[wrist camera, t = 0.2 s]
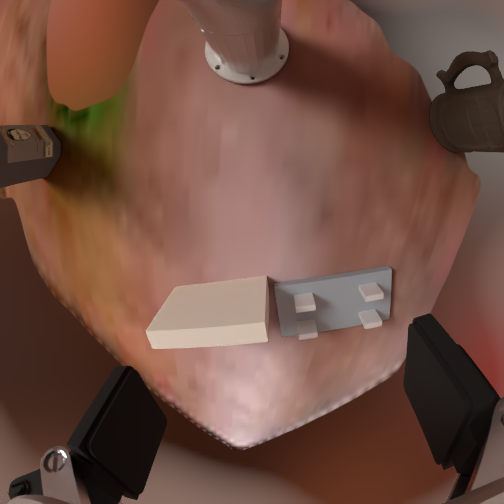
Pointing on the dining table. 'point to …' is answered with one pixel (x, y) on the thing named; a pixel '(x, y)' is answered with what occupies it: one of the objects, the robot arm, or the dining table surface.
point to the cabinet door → (213, 315)
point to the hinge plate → (334, 302)
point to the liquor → (27, 153)
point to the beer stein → (470, 108)
